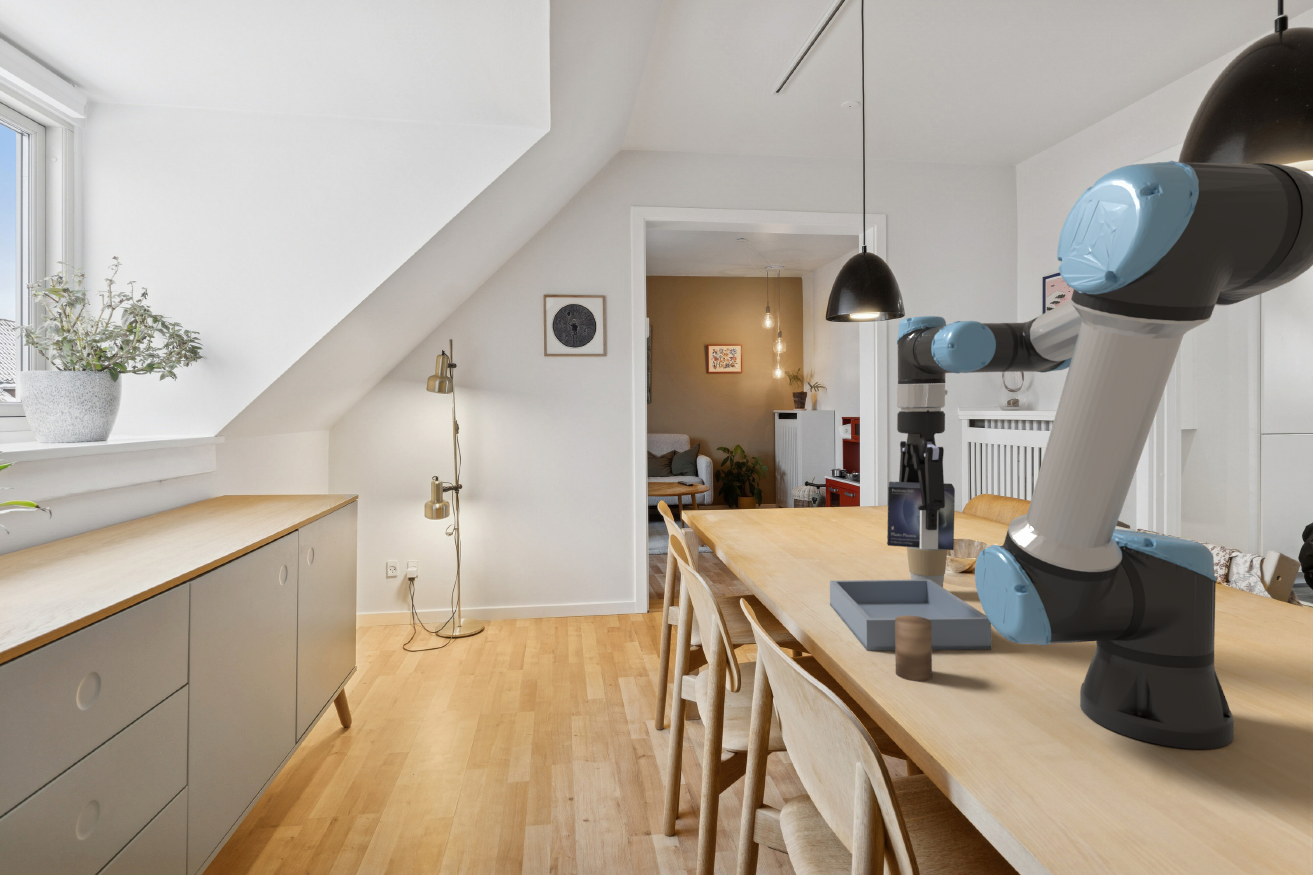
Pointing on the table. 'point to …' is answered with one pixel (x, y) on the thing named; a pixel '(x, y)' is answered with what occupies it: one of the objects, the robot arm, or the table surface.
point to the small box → (917, 516)
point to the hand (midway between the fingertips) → (919, 542)
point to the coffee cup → (927, 564)
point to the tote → (908, 613)
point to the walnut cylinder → (913, 648)
